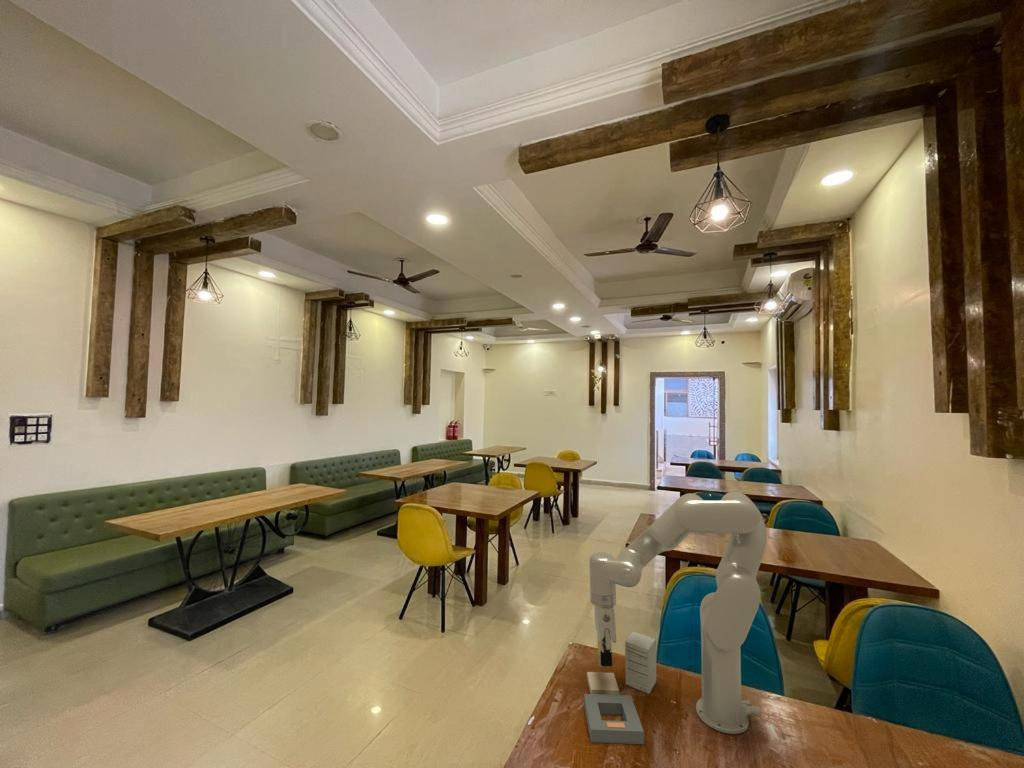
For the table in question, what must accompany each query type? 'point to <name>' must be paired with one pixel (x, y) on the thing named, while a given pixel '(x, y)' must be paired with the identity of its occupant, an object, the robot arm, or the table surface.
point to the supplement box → (640, 662)
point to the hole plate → (613, 730)
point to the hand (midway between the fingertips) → (605, 660)
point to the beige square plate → (602, 683)
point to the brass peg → (599, 652)
